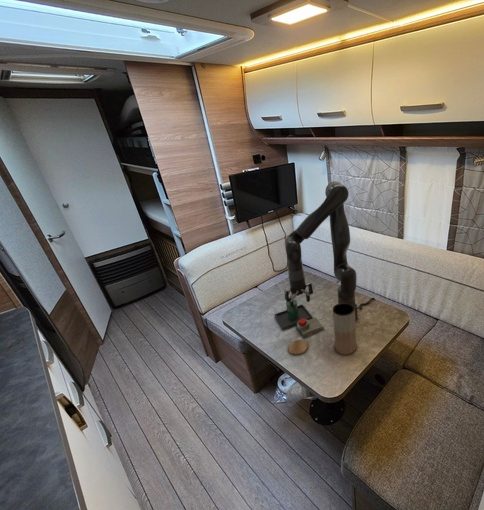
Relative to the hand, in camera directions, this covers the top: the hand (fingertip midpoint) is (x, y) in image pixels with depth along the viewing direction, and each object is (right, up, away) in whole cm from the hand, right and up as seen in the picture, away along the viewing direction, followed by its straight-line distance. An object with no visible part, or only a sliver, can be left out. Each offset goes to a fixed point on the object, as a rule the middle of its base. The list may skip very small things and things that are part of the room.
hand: (300, 304), depth 143 cm
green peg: (-6, -10, +16) cm, 20 cm away
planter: (+23, -20, -7) cm, 31 cm away
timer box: (+4, -14, +6) cm, 16 cm away
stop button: (+1, -11, +5) cm, 12 cm away
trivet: (0, -21, -6) cm, 21 cm away
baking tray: (-6, -11, +16) cm, 20 cm away
